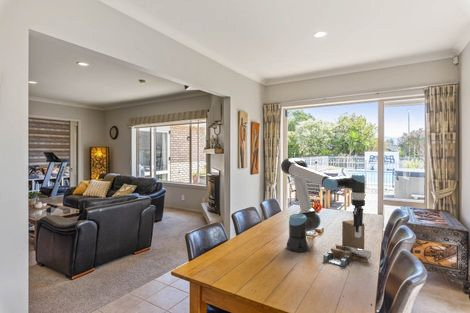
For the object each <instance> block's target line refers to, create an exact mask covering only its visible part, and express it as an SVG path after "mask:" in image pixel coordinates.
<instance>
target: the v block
mask: <svg viewBox="0 0 470 313" xmlns="http://www.w3.org/2000/svg"><path fill="white" fill-rule="evenodd" d="M322 256H323V259H322V262H324V263H329V264H332V265H336V266H338V267H342V268H346V267H347V266H348V265H349V264H350V263H351V261H350V256H348V255H345V256H344V258H342V259H339V258H335V257H333V252H331V250H328V251H327V252H326V253H324V254H323V255H322Z"/></svg>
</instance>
